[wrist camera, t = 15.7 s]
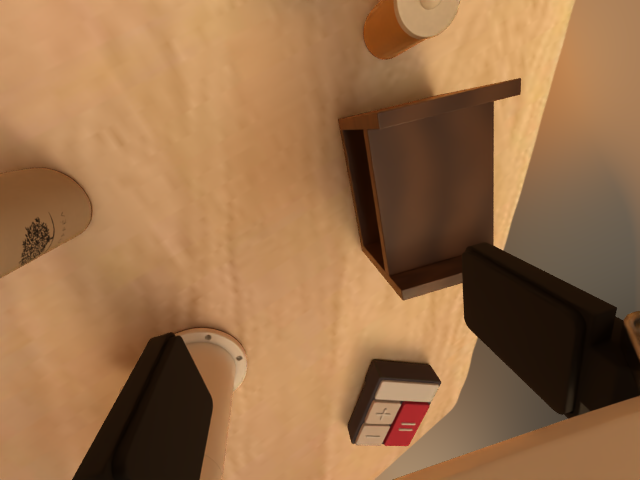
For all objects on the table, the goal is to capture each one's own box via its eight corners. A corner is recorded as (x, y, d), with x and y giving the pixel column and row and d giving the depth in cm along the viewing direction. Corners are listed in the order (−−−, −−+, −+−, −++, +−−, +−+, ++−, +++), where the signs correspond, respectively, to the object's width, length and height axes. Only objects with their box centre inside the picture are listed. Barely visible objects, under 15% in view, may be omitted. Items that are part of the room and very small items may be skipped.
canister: (366, 66, 33) (407, 39, 23) (358, 6, 31) (399, -49, 21) (412, 55, 33) (471, 24, 24) (407, -4, 31) (469, -63, 22)
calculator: (351, 448, 49) (381, 381, 44) (345, 423, 53) (372, 359, 48) (410, 449, 51) (445, 385, 46) (400, 425, 55) (431, 364, 50)
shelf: (362, 250, 41) (402, 300, 29) (337, 119, 34) (377, 112, 22) (443, 228, 42) (515, 267, 30) (434, 96, 35) (521, 77, 23)
